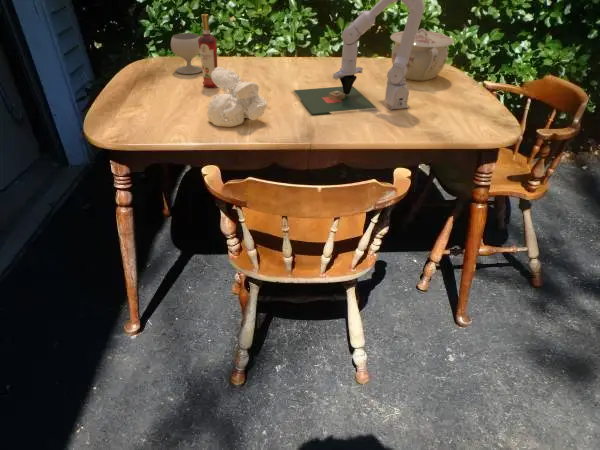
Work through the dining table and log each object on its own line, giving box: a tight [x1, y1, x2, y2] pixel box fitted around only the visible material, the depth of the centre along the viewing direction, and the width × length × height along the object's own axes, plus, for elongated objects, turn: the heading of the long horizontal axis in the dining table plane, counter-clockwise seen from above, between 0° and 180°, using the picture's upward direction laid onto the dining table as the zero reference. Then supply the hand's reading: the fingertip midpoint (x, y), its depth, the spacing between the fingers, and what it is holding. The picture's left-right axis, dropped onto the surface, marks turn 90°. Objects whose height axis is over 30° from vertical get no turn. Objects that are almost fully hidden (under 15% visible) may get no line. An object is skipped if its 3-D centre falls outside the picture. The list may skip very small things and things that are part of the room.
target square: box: [322, 97, 342, 103], centre depth 187 cm, size 6×6×1 cm
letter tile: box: [329, 91, 345, 101], centre depth 187 cm, size 4×4×2 cm
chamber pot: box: [389, 27, 455, 82], centre depth 210 cm, size 28×28×21 cm
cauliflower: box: [206, 66, 268, 128], centre depth 167 cm, size 19×20×20 cm
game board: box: [293, 85, 377, 116], centre depth 188 cm, size 26×26×1 cm
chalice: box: [170, 32, 203, 75], centre depth 212 cm, size 14×14×15 cm
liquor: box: [198, 13, 218, 88], centre depth 192 cm, size 7×7×28 cm
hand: (346, 93), depth 191 cm, fingers closed
